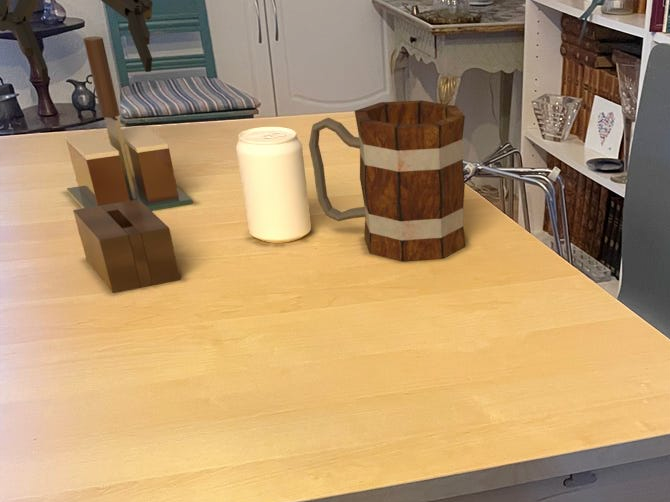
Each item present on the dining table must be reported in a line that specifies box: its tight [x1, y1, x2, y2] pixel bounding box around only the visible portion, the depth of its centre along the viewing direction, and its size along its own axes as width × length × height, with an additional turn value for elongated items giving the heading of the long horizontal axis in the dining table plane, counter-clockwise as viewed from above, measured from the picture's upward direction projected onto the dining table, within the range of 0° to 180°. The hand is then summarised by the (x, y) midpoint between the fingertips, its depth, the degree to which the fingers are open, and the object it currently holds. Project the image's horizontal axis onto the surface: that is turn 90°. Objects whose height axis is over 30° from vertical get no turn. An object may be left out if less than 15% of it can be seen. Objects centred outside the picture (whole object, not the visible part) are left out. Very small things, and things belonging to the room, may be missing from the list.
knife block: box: [73, 199, 181, 294], centre depth 112 cm, size 12×8×6 cm, turn 32°
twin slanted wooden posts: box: [65, 125, 193, 211], centre depth 132 cm, size 14×14×8 cm
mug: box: [308, 99, 466, 262], centre depth 117 cm, size 20×14×15 cm
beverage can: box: [235, 126, 312, 244], centre depth 120 cm, size 8×8×12 cm
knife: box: [83, 36, 137, 199], centre depth 128 cm, size 6×2×19 cm, turn 31°
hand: (98, 70), depth 124 cm, fingers open, 13 cm apart
